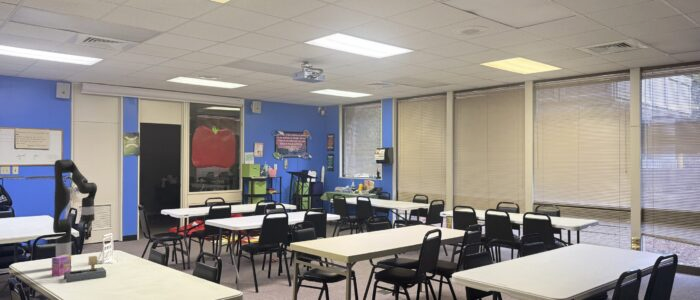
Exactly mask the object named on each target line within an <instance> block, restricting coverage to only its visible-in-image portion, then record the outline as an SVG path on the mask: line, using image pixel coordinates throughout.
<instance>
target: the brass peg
mask: <svg viewBox="0 0 700 300" xmlns="http://www.w3.org/2000/svg"><path fill="white" fill-rule="evenodd" d="M97 260H98V256H97V255H92V256H90V255H89V256H88V265H89V266H90V269H93V268H96V267H95V266H96V265H98V264H97Z"/></svg>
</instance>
